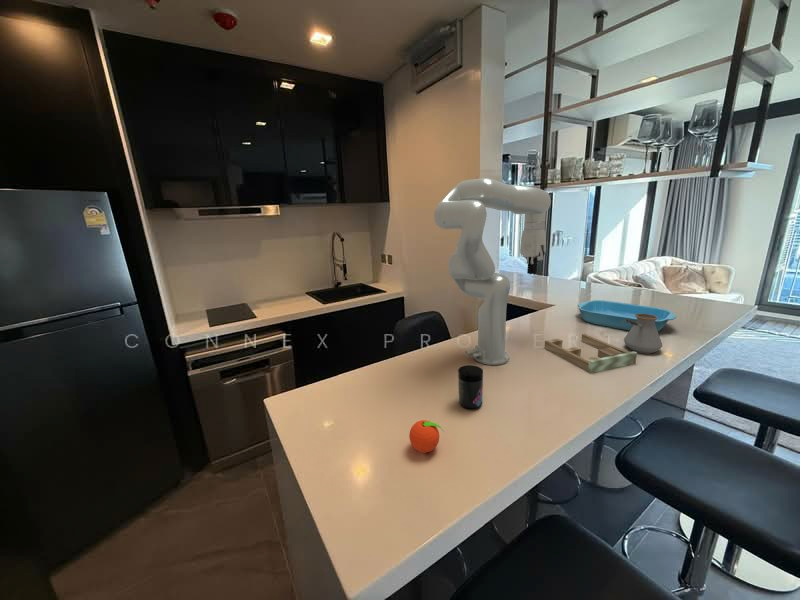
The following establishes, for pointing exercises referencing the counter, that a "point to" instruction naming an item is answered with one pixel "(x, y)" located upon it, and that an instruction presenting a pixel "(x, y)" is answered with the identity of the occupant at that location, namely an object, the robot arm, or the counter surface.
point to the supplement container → (470, 386)
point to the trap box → (591, 363)
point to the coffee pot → (643, 334)
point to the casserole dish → (620, 314)
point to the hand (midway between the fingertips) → (531, 273)
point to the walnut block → (607, 352)
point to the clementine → (424, 436)
